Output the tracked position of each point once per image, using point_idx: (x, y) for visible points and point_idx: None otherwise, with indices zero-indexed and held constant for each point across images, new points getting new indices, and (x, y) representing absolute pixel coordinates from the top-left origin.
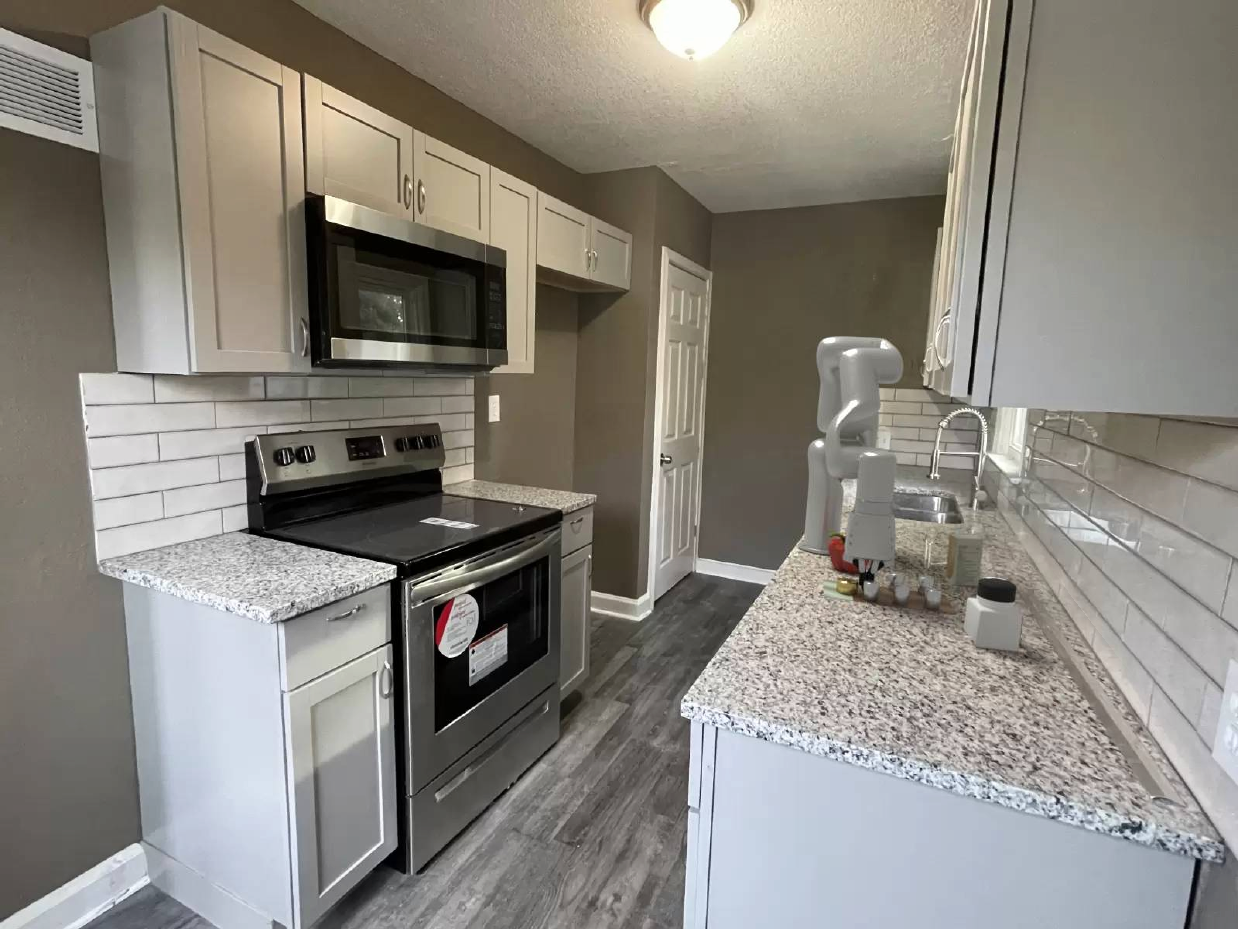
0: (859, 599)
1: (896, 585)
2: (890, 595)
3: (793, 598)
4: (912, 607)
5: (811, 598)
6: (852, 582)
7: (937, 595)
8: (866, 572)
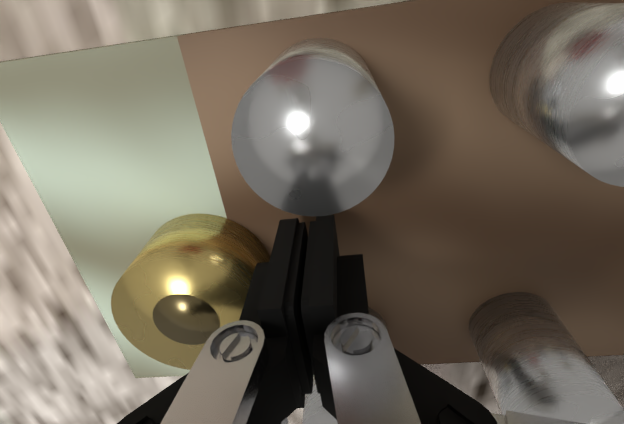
0: None
1: None
2: (482, 202)
3: (34, 386)
4: None
5: (91, 359)
6: None
7: None
8: (301, 366)
